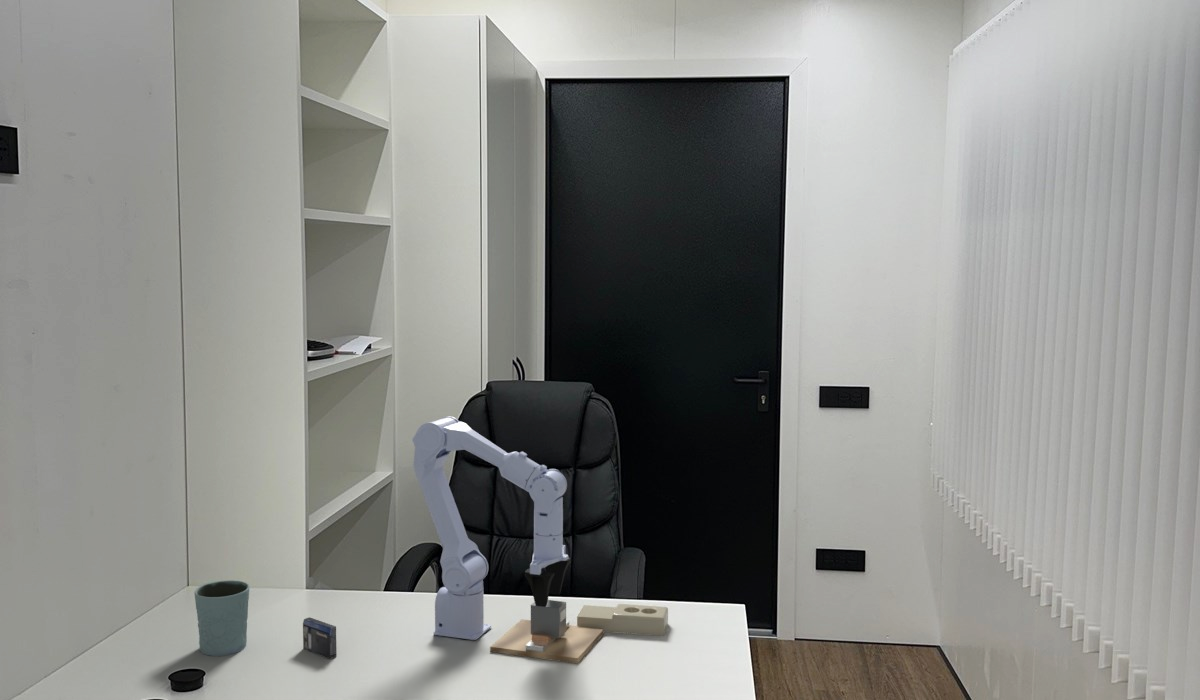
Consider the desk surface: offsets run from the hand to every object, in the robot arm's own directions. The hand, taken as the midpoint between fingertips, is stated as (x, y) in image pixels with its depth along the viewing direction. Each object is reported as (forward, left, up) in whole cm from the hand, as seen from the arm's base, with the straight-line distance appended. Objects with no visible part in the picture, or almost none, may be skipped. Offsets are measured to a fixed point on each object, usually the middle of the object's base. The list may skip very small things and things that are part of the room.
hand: (548, 599), depth 203 cm
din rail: (0, 0, -9) cm, 9 cm away
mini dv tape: (-40, -19, -9) cm, 45 cm away
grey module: (0, 0, -7) cm, 7 cm away
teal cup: (-59, -23, -9) cm, 64 cm away
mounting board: (0, 0, -9) cm, 9 cm away
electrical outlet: (+12, +14, -9) cm, 20 cm away
